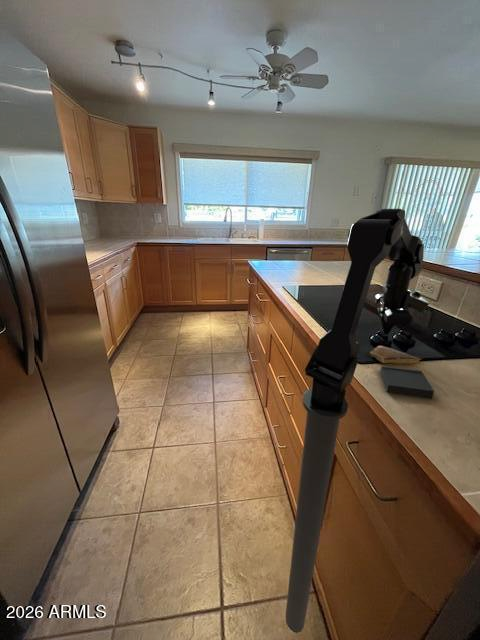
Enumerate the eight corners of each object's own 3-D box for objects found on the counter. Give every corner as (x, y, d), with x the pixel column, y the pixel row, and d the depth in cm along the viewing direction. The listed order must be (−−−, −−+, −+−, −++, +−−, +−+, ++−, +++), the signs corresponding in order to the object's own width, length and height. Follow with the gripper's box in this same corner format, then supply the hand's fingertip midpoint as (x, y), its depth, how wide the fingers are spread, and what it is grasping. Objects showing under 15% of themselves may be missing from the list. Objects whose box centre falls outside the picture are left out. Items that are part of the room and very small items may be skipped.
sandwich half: (420, 363, 70) (422, 357, 69) (410, 375, 65) (412, 369, 65) (379, 348, 78) (380, 343, 77) (367, 358, 73) (368, 352, 72)
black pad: (386, 392, 60) (388, 384, 59) (379, 372, 67) (381, 365, 66) (431, 398, 57) (434, 391, 57) (419, 377, 64) (421, 370, 64)
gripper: (444, 296, 63) (427, 352, 70) (418, 277, 80) (406, 324, 86) (393, 293, 66) (381, 347, 72) (378, 276, 83) (369, 321, 89)
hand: (385, 333), depth 80 cm, fingers closed
